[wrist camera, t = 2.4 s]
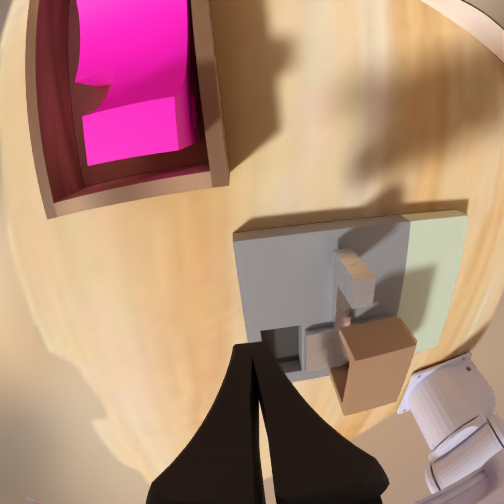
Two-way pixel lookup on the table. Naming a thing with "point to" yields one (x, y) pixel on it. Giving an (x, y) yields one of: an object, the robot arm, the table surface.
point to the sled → (342, 311)
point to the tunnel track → (360, 335)
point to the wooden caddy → (62, 130)
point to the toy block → (138, 77)
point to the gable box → (477, 20)
